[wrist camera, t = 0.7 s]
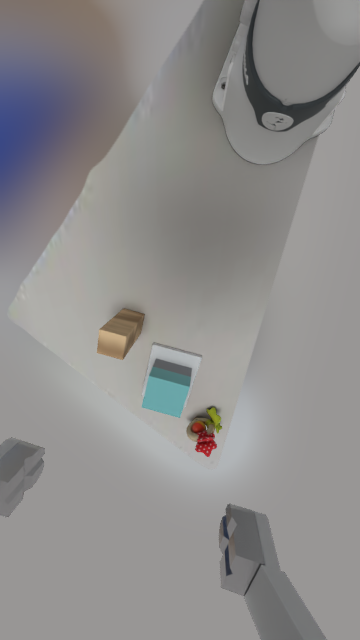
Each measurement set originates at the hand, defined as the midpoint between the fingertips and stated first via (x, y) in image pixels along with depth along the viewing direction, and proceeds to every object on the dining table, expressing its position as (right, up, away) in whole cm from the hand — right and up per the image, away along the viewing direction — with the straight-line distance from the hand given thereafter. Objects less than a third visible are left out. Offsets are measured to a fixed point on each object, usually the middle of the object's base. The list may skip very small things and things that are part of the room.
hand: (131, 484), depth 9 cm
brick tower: (0, -7, +45) cm, 46 cm away
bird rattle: (+9, -19, +49) cm, 53 cm away
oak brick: (-9, +7, +41) cm, 42 cm away
